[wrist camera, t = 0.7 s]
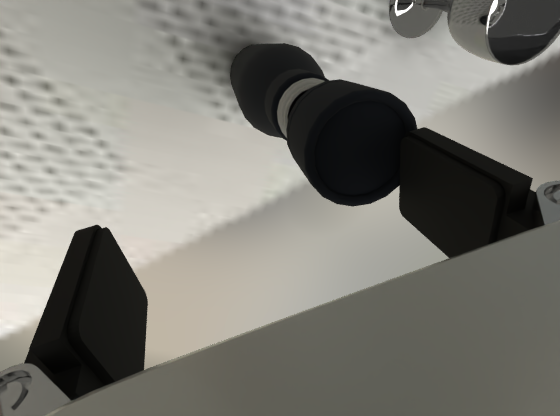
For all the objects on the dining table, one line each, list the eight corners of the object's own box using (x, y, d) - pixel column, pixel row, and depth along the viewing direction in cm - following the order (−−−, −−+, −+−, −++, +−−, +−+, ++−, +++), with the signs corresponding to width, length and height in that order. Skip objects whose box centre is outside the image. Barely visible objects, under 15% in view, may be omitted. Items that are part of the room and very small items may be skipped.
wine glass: (420, -60, 35) (553, -84, 23) (462, -9, 39) (595, -7, 27) (372, 14, 38) (469, 28, 26) (415, 55, 42) (517, 84, 30)
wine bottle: (222, 94, 38) (234, 212, 11) (241, 33, 36) (314, -1, 9) (275, 114, 40) (397, 258, 13) (297, 58, 37) (496, 91, 11)
